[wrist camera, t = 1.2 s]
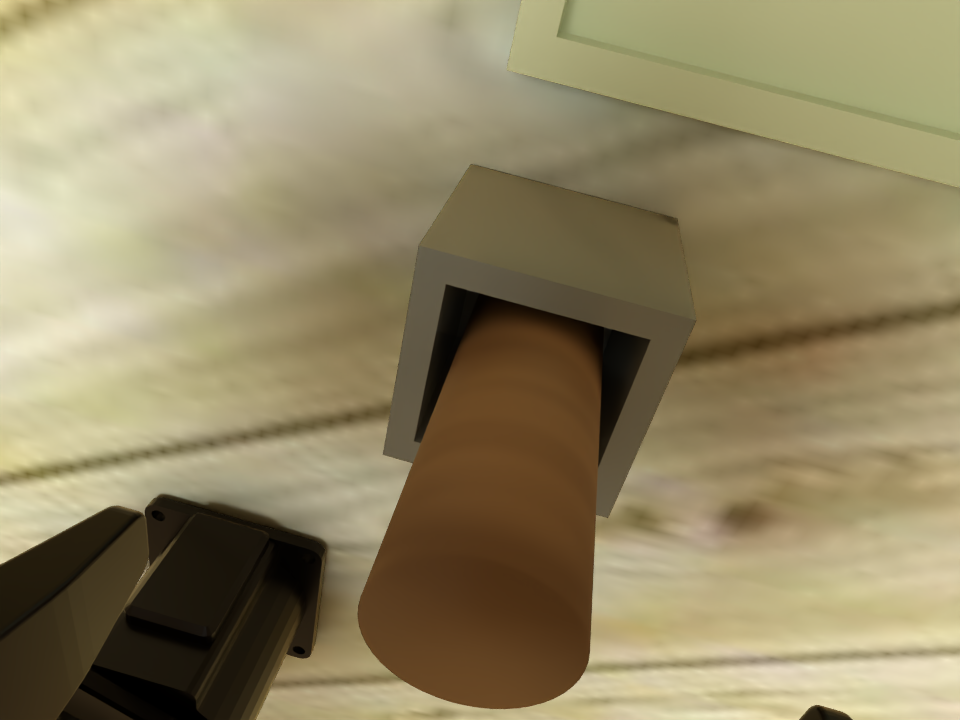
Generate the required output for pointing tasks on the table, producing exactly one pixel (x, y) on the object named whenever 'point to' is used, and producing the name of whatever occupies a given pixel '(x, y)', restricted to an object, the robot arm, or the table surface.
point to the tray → (770, 69)
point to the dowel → (497, 519)
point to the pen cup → (549, 300)
